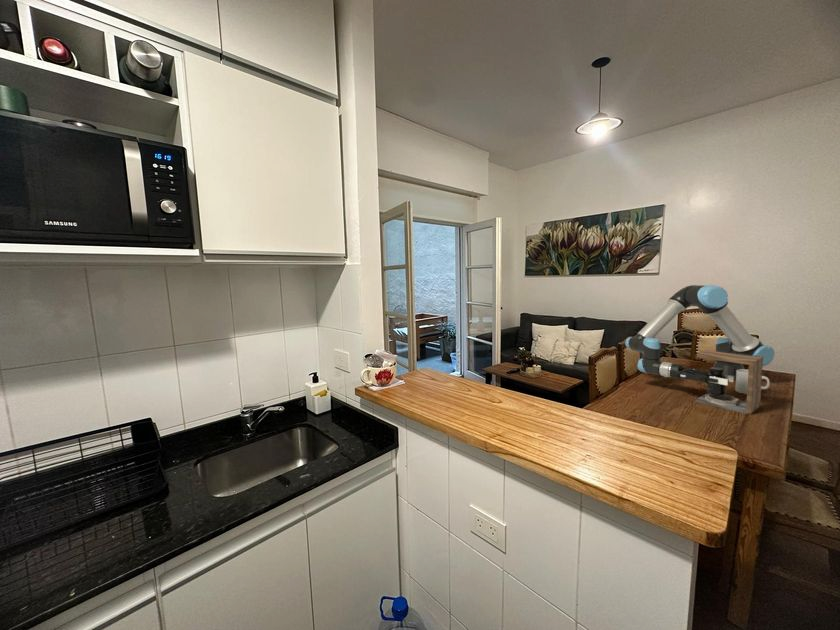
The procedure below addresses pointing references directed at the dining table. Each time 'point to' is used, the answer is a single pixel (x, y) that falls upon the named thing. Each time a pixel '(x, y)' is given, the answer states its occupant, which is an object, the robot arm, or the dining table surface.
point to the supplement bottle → (714, 387)
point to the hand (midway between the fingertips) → (730, 380)
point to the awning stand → (753, 383)
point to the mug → (746, 381)
